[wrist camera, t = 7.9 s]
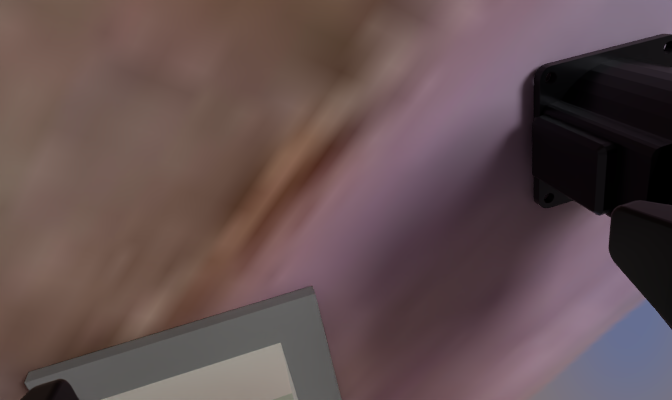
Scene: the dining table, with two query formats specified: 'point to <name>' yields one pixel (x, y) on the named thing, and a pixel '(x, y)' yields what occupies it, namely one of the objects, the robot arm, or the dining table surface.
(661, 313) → the robot arm
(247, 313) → the pale block on slab
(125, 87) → the dining table surface
